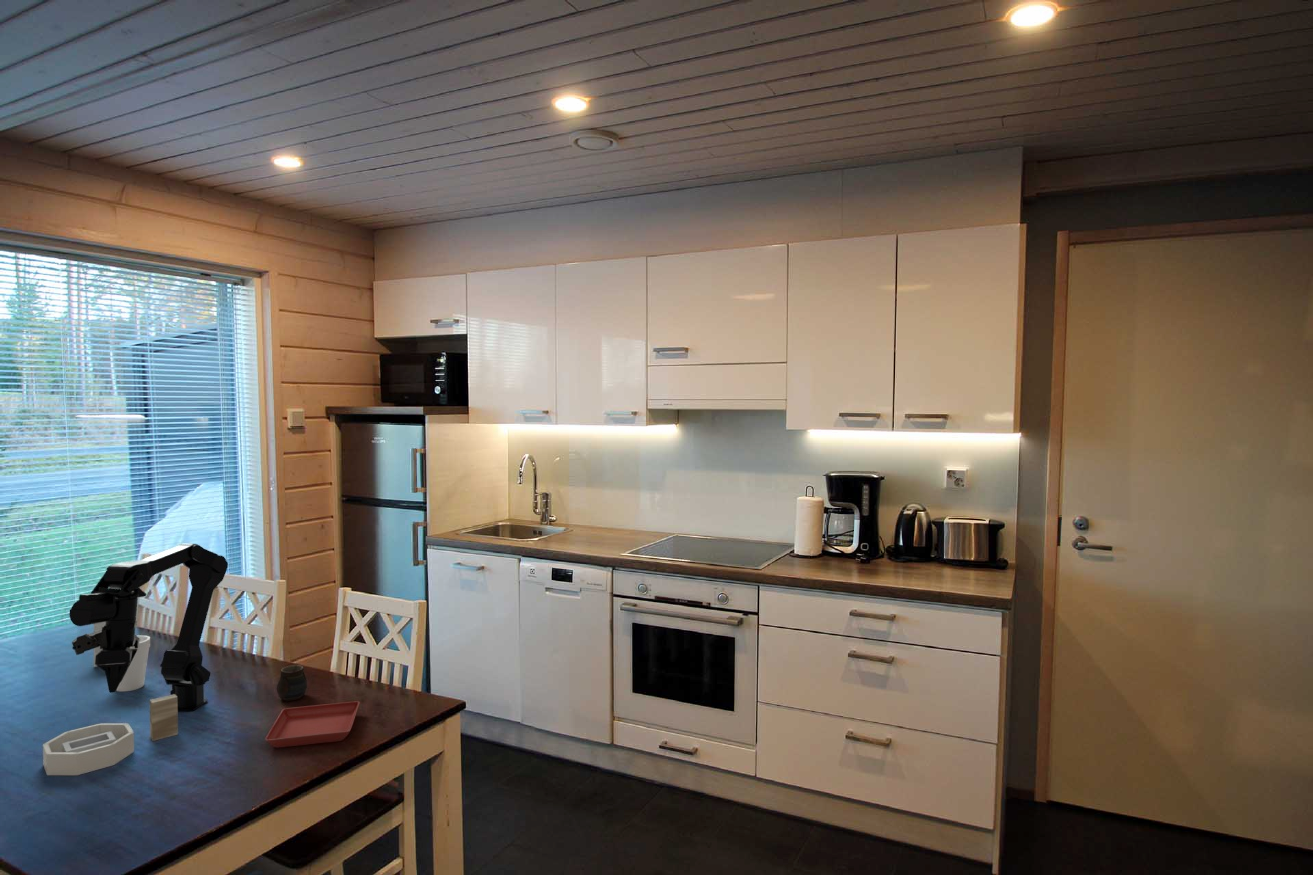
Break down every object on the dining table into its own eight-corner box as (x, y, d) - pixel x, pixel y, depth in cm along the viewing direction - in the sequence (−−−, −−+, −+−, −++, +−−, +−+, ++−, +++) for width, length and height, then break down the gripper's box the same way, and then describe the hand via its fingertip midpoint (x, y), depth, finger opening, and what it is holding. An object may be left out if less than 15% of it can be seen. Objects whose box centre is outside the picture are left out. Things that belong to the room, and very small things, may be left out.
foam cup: (159, 681, 203) (158, 636, 203) (132, 694, 194) (131, 646, 194) (128, 680, 204) (127, 634, 204) (99, 692, 195) (99, 645, 195)
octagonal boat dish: (138, 758, 159) (138, 737, 159) (49, 782, 148) (49, 761, 148) (124, 736, 169) (123, 717, 169) (40, 757, 158) (40, 737, 158)
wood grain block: (177, 734, 171) (177, 696, 170) (152, 740, 167) (152, 702, 167) (175, 730, 172) (174, 693, 172) (150, 737, 169) (149, 699, 168)
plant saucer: (264, 753, 162) (263, 739, 162) (282, 720, 180) (282, 707, 180) (350, 744, 167) (350, 730, 167) (360, 713, 184) (360, 700, 184)
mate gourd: (299, 690, 198) (300, 654, 198) (312, 697, 194) (313, 660, 193) (272, 697, 193) (272, 660, 192) (284, 705, 188) (285, 667, 188)
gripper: (84, 614, 171) (79, 681, 170) (68, 628, 155) (62, 702, 154) (142, 611, 177) (136, 676, 176) (132, 624, 161) (126, 696, 159)
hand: (115, 687), depth 166 cm, fingers open, 9 cm apart
